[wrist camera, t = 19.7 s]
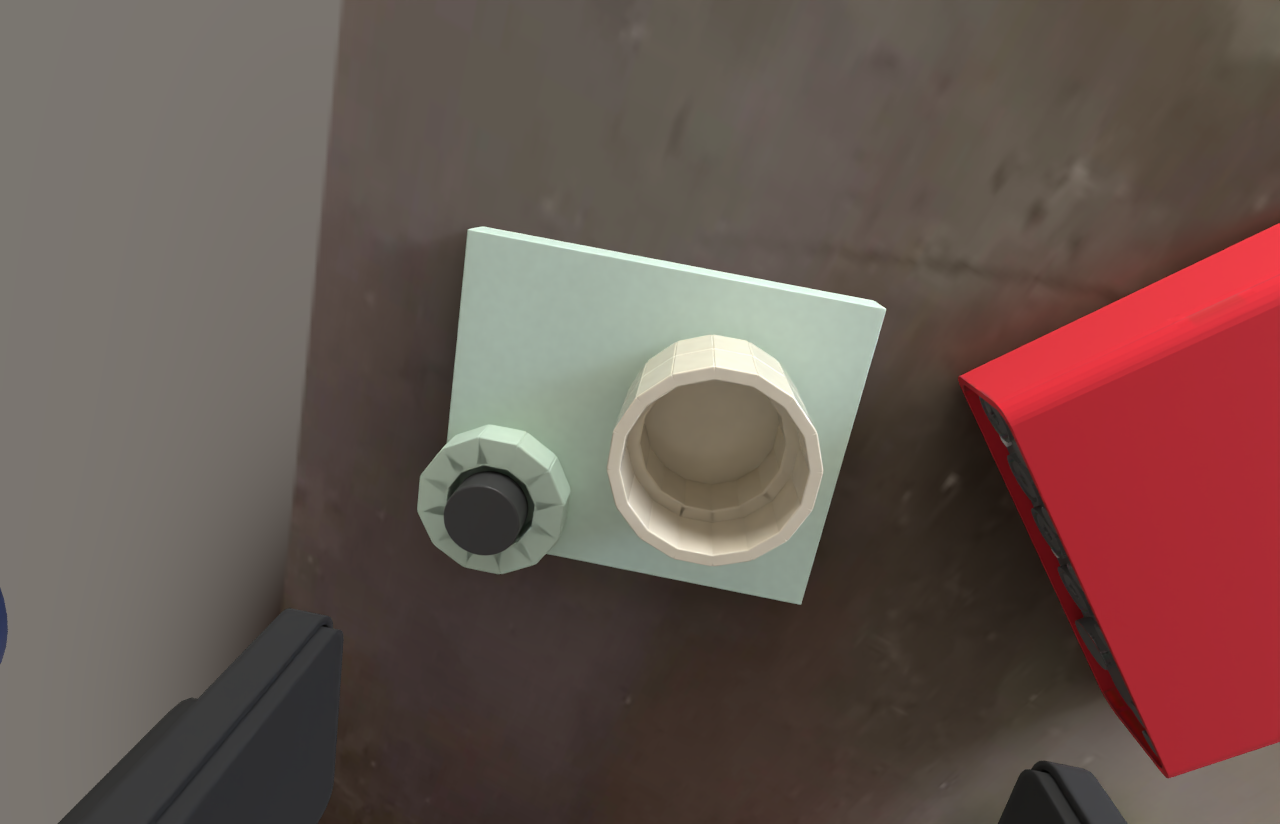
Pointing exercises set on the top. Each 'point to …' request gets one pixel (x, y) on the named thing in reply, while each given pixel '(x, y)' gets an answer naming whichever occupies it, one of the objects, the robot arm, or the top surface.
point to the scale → (621, 393)
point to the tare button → (486, 513)
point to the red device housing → (1159, 496)
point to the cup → (714, 453)
